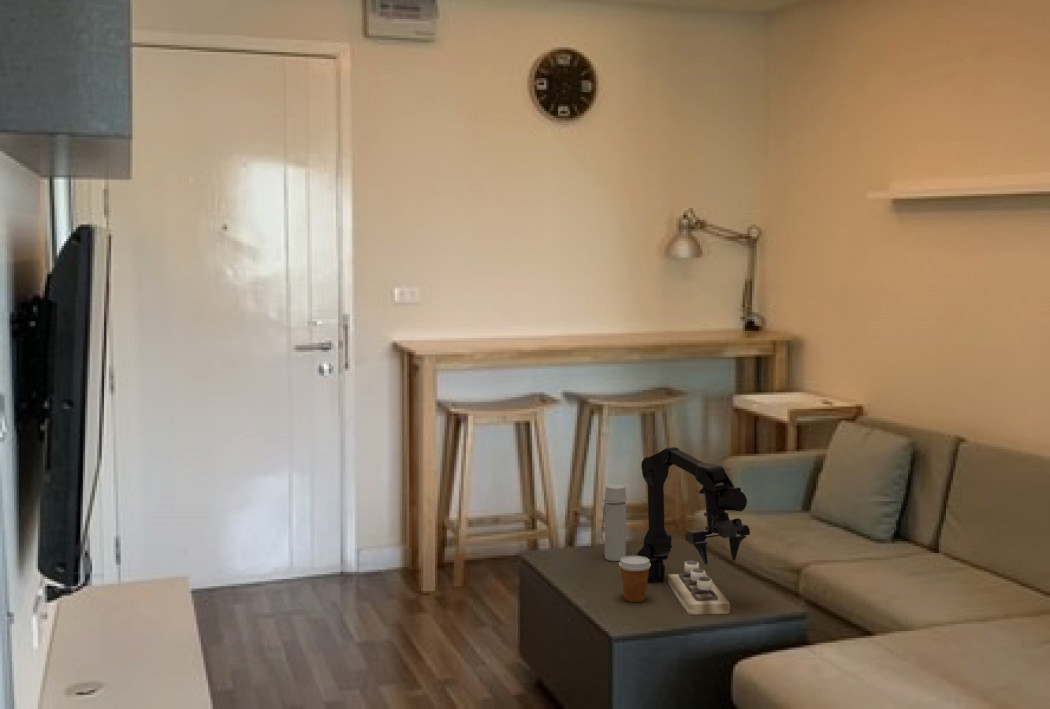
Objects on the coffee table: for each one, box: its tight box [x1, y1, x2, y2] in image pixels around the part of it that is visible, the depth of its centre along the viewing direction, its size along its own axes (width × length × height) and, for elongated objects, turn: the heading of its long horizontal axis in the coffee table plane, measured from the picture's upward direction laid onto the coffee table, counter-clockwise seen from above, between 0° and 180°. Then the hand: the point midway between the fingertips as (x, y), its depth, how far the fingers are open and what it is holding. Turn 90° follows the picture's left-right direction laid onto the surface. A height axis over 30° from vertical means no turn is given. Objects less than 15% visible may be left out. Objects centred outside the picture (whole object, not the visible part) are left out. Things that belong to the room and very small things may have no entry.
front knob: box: [697, 576, 713, 590], centre depth 313 cm, size 4×4×3 cm
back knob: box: [684, 560, 700, 574], centre depth 329 cm, size 4×4×3 cm
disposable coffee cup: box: [618, 555, 651, 603], centre depth 321 cm, size 10×10×12 cm
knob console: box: [667, 572, 731, 616], centre depth 321 cm, size 12×28×4 cm, turn 4°
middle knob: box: [690, 568, 706, 581], centre depth 321 cm, size 4×4×3 cm
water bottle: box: [600, 483, 627, 562], centre depth 361 cm, size 9×8×25 cm
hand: (720, 562), depth 314 cm, fingers open, 9 cm apart
